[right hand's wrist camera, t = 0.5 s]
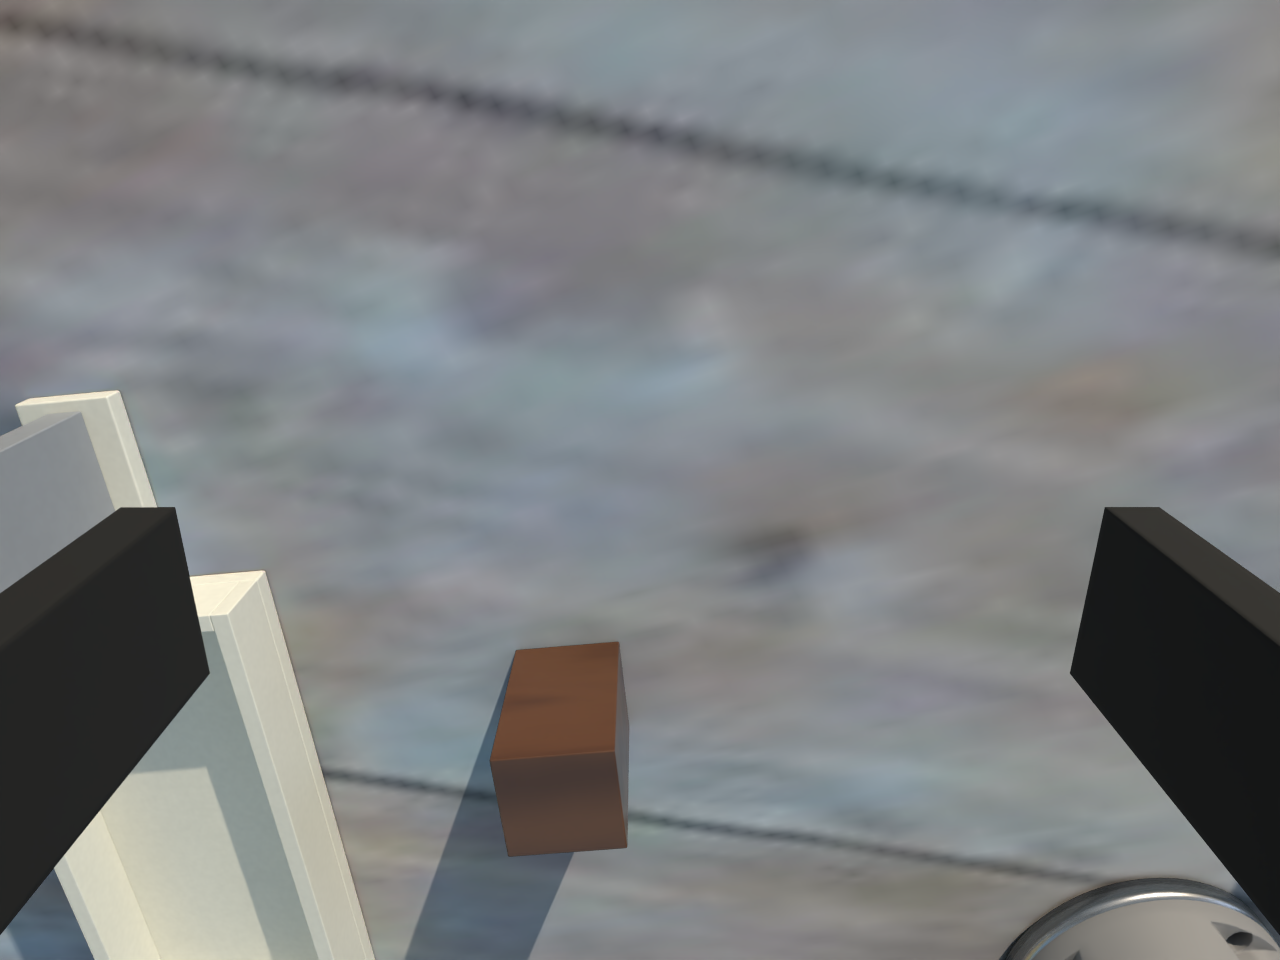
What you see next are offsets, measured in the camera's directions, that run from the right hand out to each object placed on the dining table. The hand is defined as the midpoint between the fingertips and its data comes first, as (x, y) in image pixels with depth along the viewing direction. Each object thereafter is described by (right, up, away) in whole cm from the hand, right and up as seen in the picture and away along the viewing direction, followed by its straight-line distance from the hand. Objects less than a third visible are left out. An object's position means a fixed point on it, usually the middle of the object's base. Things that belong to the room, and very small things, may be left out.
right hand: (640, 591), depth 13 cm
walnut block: (-3, -9, +30) cm, 32 cm away
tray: (-22, -11, +31) cm, 40 cm away
